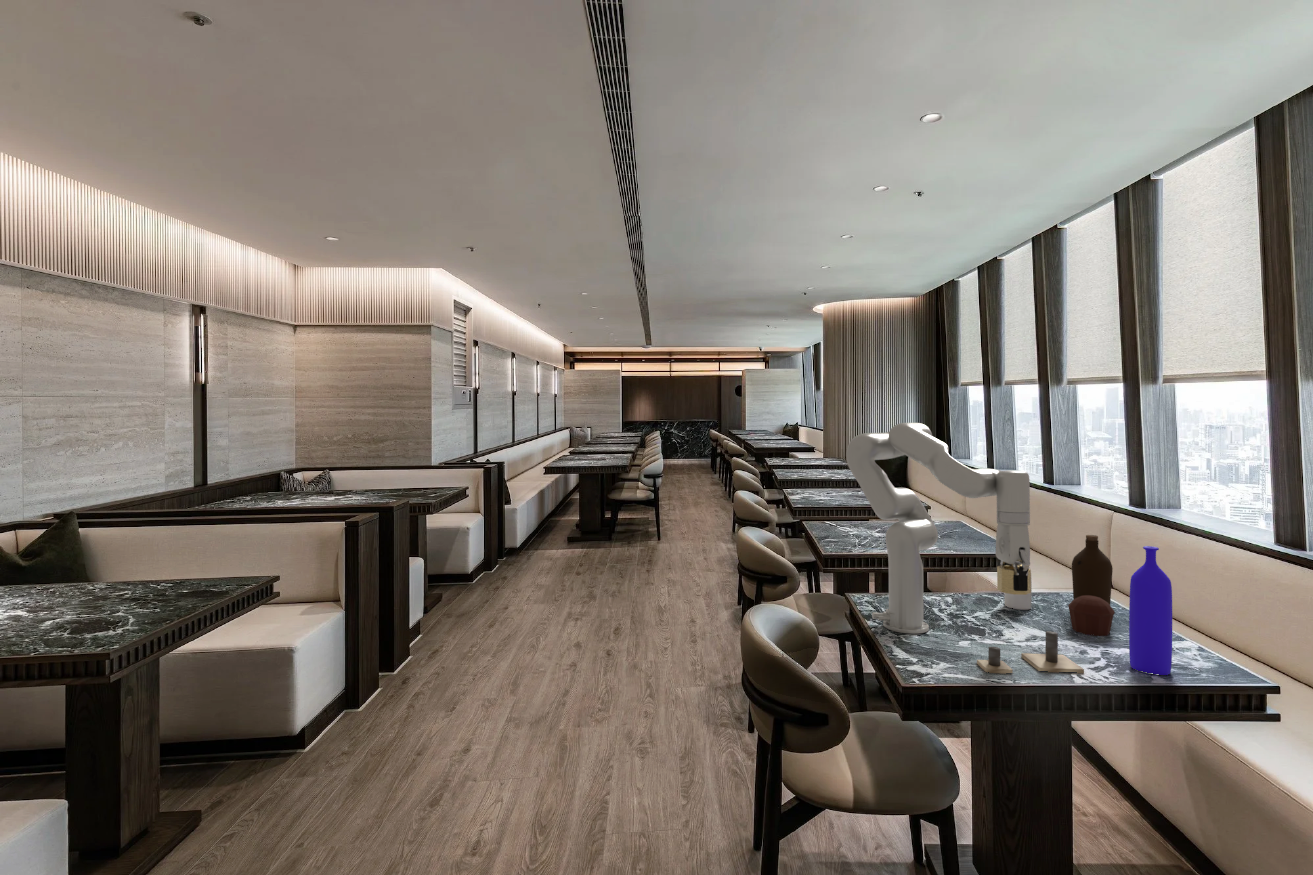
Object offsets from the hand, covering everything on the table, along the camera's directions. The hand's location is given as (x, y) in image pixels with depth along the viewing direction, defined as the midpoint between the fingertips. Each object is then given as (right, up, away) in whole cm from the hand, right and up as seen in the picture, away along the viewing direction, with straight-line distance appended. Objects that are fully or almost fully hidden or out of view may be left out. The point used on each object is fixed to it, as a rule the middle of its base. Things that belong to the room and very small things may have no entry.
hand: (1013, 586), depth 166 cm
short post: (-9, -18, -8) cm, 22 cm away
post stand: (+6, -18, -6) cm, 20 cm away
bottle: (+28, -18, -10) cm, 35 cm away
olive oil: (+44, -17, +35) cm, 59 cm away
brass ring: (0, -1, 0) cm, 1 cm away
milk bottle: (+26, -17, +45) cm, 55 cm away
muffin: (+33, -18, +20) cm, 43 cm away
